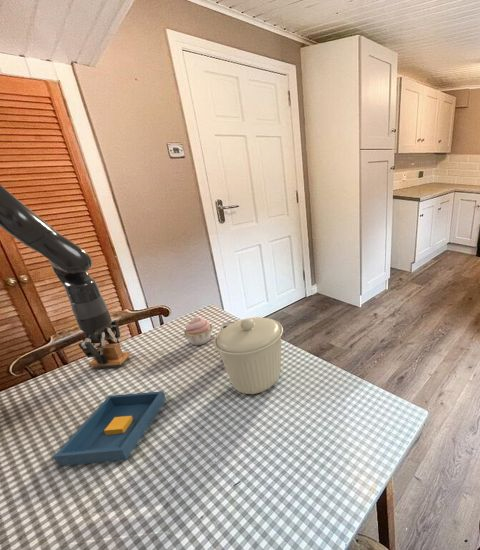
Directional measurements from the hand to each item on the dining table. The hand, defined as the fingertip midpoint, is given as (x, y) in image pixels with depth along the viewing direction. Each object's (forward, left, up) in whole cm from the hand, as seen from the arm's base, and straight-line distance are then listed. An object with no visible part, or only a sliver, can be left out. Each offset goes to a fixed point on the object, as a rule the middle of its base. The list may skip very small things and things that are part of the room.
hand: (109, 358), depth 97 cm
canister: (+49, -14, -2) cm, 51 cm away
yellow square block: (+19, -27, -2) cm, 33 cm away
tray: (+19, -28, -2) cm, 34 cm away
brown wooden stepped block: (0, 0, -2) cm, 2 cm away
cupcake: (+24, +10, -2) cm, 26 cm away
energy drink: (+39, -1, -2) cm, 39 cm away
